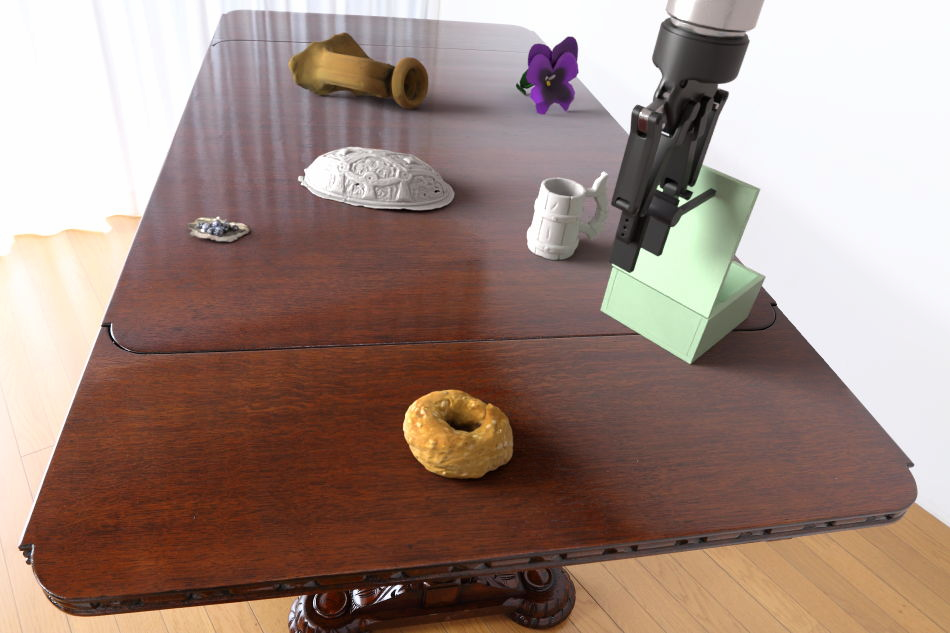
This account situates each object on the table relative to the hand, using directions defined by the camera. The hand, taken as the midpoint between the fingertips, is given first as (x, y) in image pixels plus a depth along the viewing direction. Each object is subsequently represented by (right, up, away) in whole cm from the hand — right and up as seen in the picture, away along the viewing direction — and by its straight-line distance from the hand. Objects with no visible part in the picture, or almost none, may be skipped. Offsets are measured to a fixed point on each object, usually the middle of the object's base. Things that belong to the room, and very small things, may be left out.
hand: (635, 257), depth 71 cm
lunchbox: (+10, -6, +19) cm, 23 cm away
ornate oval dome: (-33, +15, +39) cm, 53 cm away
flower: (-3, +41, +80) cm, 90 cm away
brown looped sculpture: (-41, +39, +69) cm, 89 cm away
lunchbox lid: (+6, +4, +5) cm, 9 cm away
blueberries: (-52, +5, +22) cm, 57 cm away
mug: (-4, +4, +30) cm, 31 cm away
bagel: (-19, -19, -4) cm, 27 cm away
